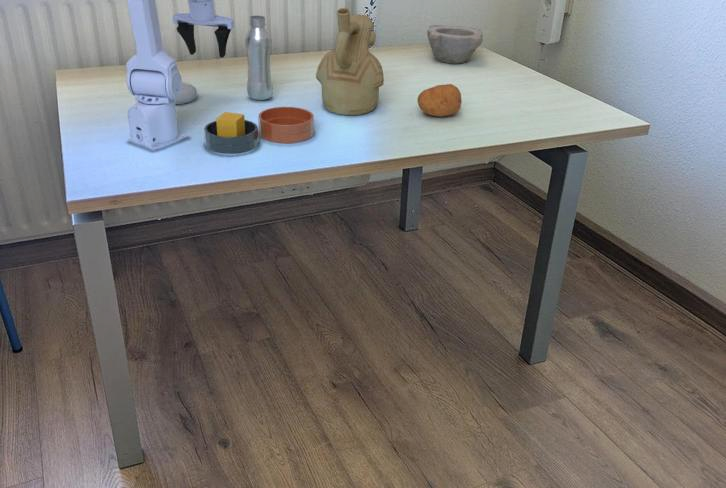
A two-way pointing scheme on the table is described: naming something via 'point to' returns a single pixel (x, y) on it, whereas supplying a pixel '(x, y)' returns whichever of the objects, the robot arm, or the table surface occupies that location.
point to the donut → (186, 94)
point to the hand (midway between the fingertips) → (207, 54)
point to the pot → (231, 139)
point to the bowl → (286, 124)
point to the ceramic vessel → (351, 68)
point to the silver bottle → (258, 59)
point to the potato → (440, 100)
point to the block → (230, 125)
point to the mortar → (453, 42)
